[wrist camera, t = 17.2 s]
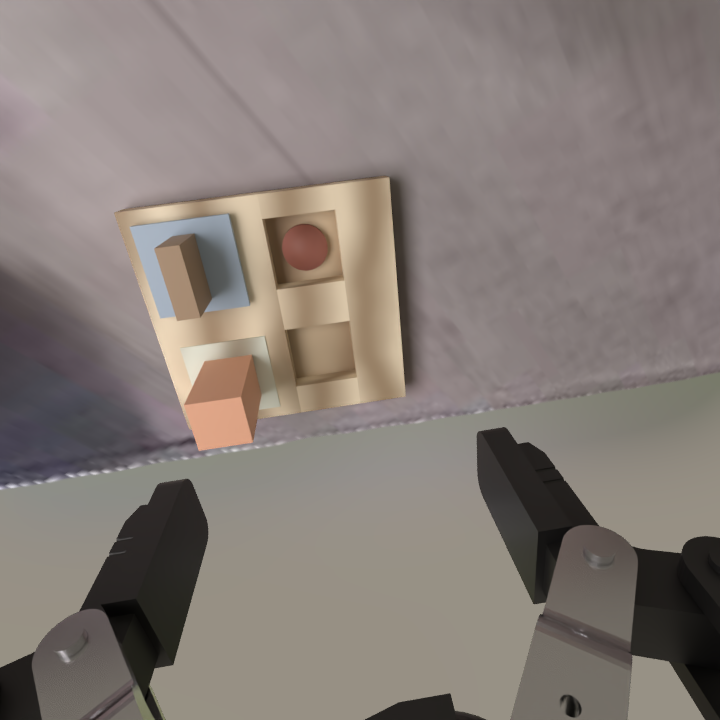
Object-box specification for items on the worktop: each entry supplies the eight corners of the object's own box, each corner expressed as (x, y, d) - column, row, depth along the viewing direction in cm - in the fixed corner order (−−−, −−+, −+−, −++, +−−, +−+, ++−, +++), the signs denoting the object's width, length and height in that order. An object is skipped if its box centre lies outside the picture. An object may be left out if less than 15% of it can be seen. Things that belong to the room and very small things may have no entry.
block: (251, 354, 37) (240, 396, 31) (261, 394, 39) (252, 442, 33) (204, 361, 37) (183, 405, 31) (216, 401, 39) (199, 450, 33)
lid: (229, 213, 32) (217, 223, 28) (250, 303, 35) (242, 325, 31) (131, 225, 32) (105, 238, 28) (162, 316, 35) (142, 339, 31)
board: (384, 175, 34) (389, 177, 32) (401, 385, 43) (405, 396, 41) (124, 209, 33) (113, 213, 31) (194, 417, 42) (189, 430, 40)
